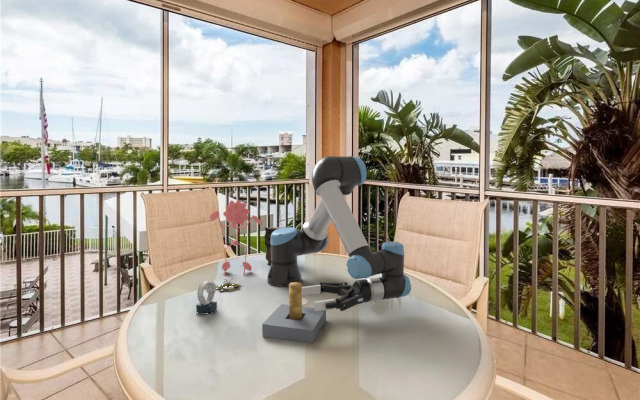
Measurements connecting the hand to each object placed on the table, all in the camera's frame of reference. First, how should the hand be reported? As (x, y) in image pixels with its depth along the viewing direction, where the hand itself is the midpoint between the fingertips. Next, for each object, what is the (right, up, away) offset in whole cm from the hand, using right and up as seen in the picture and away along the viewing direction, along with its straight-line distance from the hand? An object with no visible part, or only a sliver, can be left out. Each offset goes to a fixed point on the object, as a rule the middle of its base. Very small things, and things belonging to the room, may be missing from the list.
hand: (307, 298), depth 115 cm
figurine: (-36, -3, +60) cm, 70 cm away
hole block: (-4, -9, 0) cm, 10 cm away
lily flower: (-35, -6, +37) cm, 51 cm away
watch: (-37, -8, +13) cm, 40 cm away
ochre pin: (-4, -9, 0) cm, 10 cm away
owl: (-17, -2, +74) cm, 76 cm away
